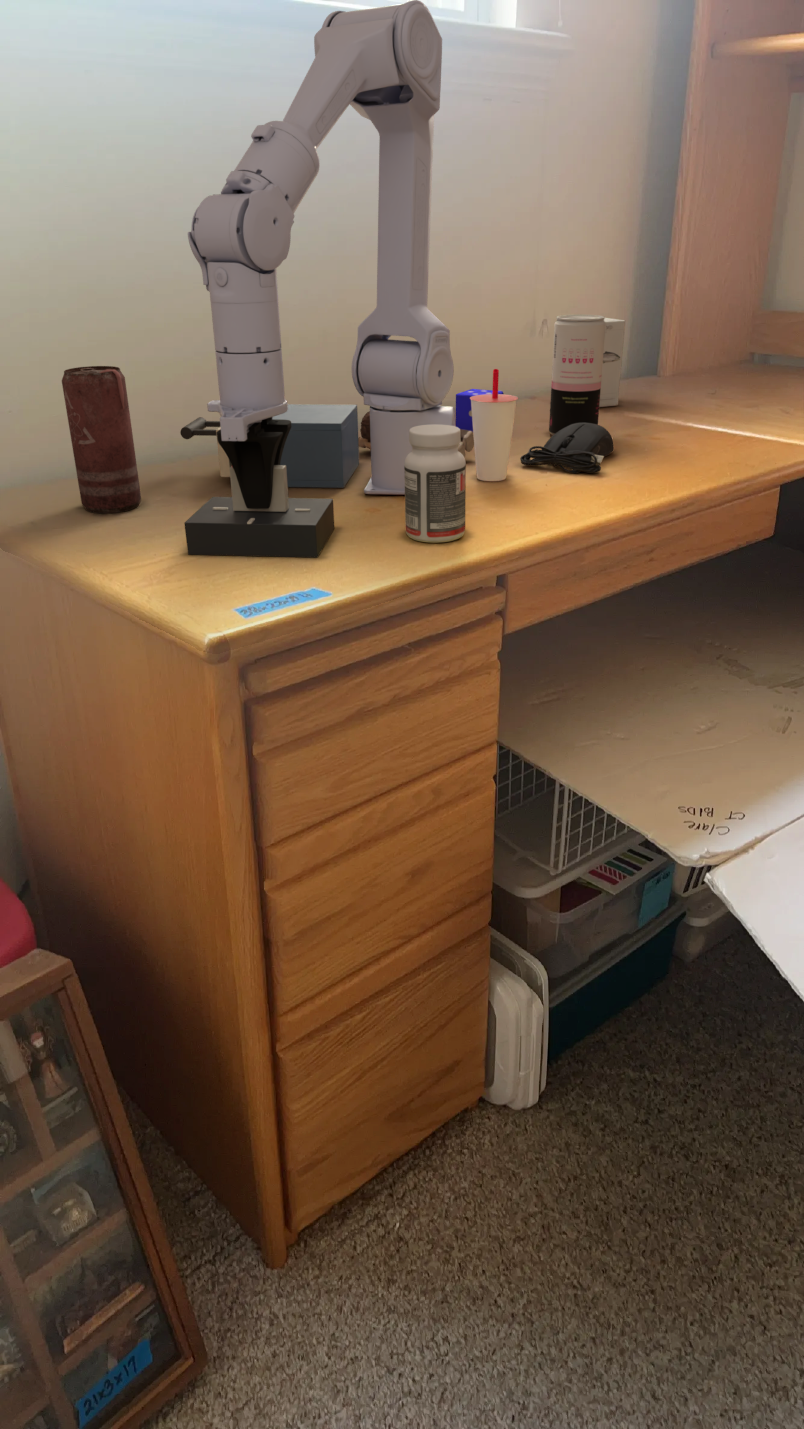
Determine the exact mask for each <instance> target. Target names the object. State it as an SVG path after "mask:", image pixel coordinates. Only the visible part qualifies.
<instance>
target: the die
mask: <svg viewBox="0 0 804 1429" xmlns="http://www.w3.org/2000/svg"><path fill="white" fill-rule="evenodd" d="M492 392H493V389H480V388H469V389H467V390H463V391H460V392H458V393H456V394H455V427H458V428H459V429H464V430H469V431H472V432H473V422H472V408H471V399H470V397H472V396H476V395H483V394H492ZM498 394H504V391H503V390H498Z"/></svg>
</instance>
